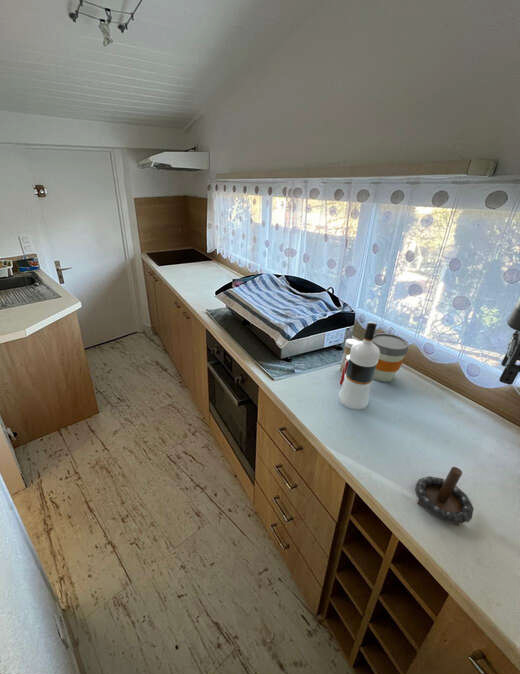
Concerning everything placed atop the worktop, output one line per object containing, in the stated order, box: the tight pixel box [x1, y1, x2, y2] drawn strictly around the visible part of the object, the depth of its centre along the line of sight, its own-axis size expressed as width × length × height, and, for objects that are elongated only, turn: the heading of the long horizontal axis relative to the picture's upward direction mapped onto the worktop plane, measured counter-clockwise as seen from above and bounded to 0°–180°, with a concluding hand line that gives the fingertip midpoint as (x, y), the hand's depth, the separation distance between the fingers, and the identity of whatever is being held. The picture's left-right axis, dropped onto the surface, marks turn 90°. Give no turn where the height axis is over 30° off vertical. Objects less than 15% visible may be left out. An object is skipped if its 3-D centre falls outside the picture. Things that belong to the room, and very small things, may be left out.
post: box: [417, 466, 463, 527], centre depth 70 cm, size 8×8×11 cm
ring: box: [414, 475, 474, 525], centre depth 71 cm, size 11×11×2 cm
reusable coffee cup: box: [372, 332, 409, 382], centre depth 114 cm, size 13×13×15 cm
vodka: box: [338, 321, 380, 410], centre depth 97 cm, size 9×9×30 cm
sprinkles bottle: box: [339, 338, 359, 373], centre depth 117 cm, size 5×5×14 cm
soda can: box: [339, 355, 349, 387], centre depth 109 cm, size 5×5×12 cm
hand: (505, 374), depth 70 cm, fingers open, 8 cm apart
